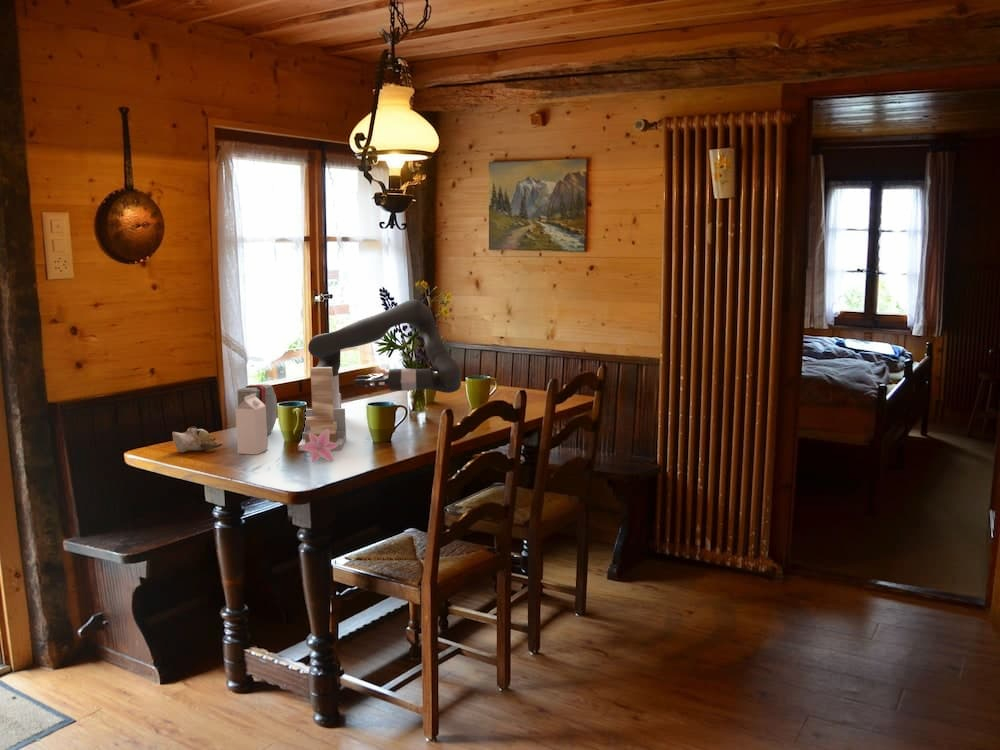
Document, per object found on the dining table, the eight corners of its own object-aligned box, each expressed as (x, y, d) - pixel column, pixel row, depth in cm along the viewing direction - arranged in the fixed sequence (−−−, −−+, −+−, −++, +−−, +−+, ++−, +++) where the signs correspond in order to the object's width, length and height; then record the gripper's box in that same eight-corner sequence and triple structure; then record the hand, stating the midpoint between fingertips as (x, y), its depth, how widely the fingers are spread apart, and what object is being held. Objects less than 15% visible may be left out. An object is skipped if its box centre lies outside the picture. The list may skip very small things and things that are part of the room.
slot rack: (305, 440, 305) (304, 409, 303) (346, 439, 306) (344, 408, 304) (298, 451, 289) (296, 418, 287) (341, 450, 290) (339, 417, 288)
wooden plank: (314, 436, 302) (311, 367, 298) (334, 435, 302) (332, 366, 299) (313, 437, 300) (310, 368, 296) (334, 437, 300) (331, 368, 296)
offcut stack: (307, 439, 297) (306, 416, 296) (337, 438, 298) (336, 415, 297) (304, 443, 291) (303, 419, 290) (335, 442, 292) (334, 419, 291)
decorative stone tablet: (254, 388, 292) (278, 381, 322) (234, 388, 292) (261, 381, 322) (255, 445, 293) (279, 433, 323) (235, 445, 294) (262, 433, 323)
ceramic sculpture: (169, 424, 290) (215, 421, 298) (169, 449, 292) (215, 446, 299) (175, 430, 281) (222, 427, 289) (175, 456, 283) (222, 453, 290)
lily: (295, 463, 277) (298, 443, 272) (308, 443, 286) (311, 423, 281) (328, 475, 276) (331, 454, 271) (340, 454, 285) (344, 434, 280)
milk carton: (237, 453, 286) (234, 396, 283) (248, 448, 293) (245, 392, 290) (257, 455, 284) (254, 397, 281) (268, 449, 291) (265, 393, 288)
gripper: (403, 365, 306) (356, 367, 305) (401, 371, 292) (352, 373, 291) (403, 387, 307) (357, 388, 306) (402, 394, 293) (353, 395, 292)
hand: (355, 381), depth 299 cm, fingers open, 8 cm apart
